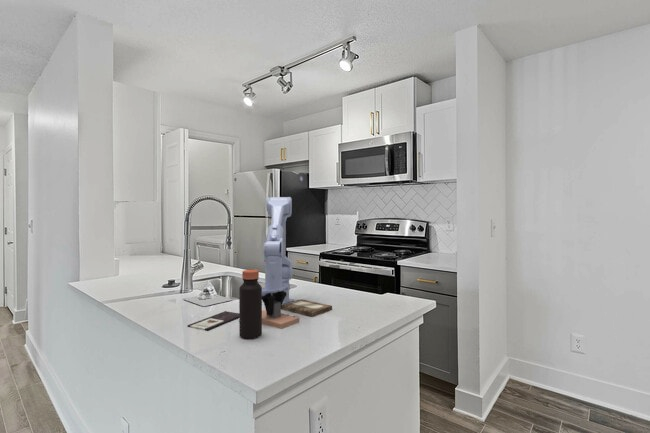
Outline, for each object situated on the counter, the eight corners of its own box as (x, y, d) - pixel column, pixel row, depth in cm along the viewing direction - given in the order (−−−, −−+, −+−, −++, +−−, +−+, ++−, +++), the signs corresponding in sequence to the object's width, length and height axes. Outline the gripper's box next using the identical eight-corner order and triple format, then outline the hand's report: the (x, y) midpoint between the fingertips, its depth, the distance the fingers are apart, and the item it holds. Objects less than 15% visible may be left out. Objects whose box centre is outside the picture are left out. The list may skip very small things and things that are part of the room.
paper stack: (180, 313, 135) (180, 311, 135) (151, 301, 152) (151, 299, 152) (233, 301, 153) (233, 299, 153) (202, 291, 169) (202, 290, 169)
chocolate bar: (244, 314, 132) (207, 329, 115) (244, 316, 132) (207, 332, 115) (225, 311, 136) (187, 325, 119) (225, 313, 136) (187, 328, 120)
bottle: (235, 335, 112) (235, 270, 111) (253, 330, 116) (253, 268, 116) (247, 341, 107) (247, 273, 106) (266, 335, 112) (266, 271, 111)
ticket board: (280, 309, 140) (280, 304, 140) (301, 302, 150) (301, 298, 149) (312, 317, 130) (312, 312, 130) (332, 309, 140) (332, 305, 140)
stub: (248, 319, 127) (248, 300, 127) (267, 313, 135) (267, 296, 134) (280, 328, 118) (280, 309, 117) (299, 321, 125) (299, 303, 125)
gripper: (266, 279, 117) (266, 321, 118) (296, 273, 129) (296, 311, 129) (251, 277, 122) (251, 317, 122) (282, 271, 133) (282, 307, 134)
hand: (273, 313), depth 126 cm, fingers closed on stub, 3 cm apart
